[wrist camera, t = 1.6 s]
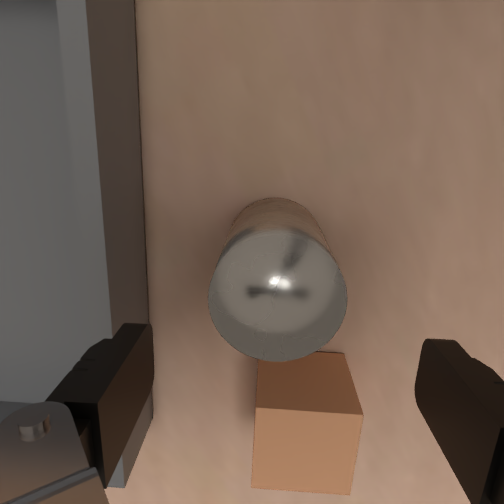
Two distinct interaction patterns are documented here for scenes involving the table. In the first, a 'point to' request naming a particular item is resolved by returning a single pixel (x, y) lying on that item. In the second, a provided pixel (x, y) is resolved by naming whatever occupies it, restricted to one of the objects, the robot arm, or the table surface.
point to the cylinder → (276, 284)
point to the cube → (306, 425)
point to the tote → (68, 195)
